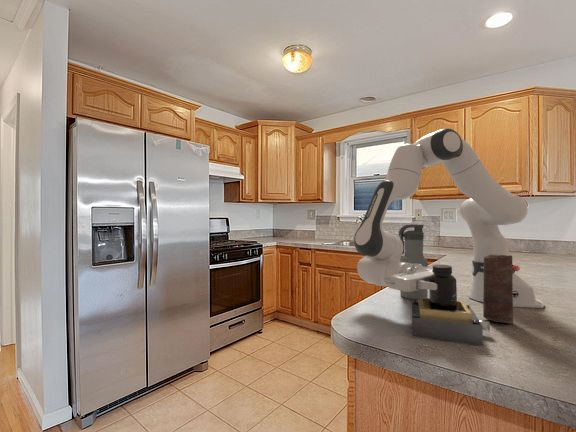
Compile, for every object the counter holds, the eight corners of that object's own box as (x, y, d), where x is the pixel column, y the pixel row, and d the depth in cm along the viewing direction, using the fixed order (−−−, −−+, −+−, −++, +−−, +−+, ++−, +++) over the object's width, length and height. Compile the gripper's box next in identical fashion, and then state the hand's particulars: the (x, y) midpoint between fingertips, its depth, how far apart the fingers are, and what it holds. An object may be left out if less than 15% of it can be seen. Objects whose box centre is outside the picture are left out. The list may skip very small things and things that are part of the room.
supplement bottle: (460, 313, 82) (459, 268, 82) (433, 312, 84) (431, 268, 83) (453, 304, 89) (451, 263, 88) (427, 304, 90) (426, 263, 90)
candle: (503, 327, 87) (503, 257, 87) (477, 319, 94) (477, 254, 94) (518, 323, 91) (518, 255, 91) (492, 316, 97) (492, 252, 97)
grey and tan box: (481, 325, 89) (482, 301, 89) (496, 347, 74) (497, 318, 74) (411, 317, 96) (411, 294, 96) (411, 336, 81) (411, 309, 81)
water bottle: (396, 297, 119) (396, 224, 119) (402, 292, 127) (402, 223, 127) (425, 301, 113) (425, 225, 113) (429, 295, 121) (429, 224, 121)
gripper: (380, 269, 90) (424, 278, 79) (420, 263, 102) (463, 269, 91) (380, 291, 91) (424, 302, 79) (420, 282, 102) (463, 290, 91)
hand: (445, 284), depth 85 cm, fingers open, 7 cm apart
